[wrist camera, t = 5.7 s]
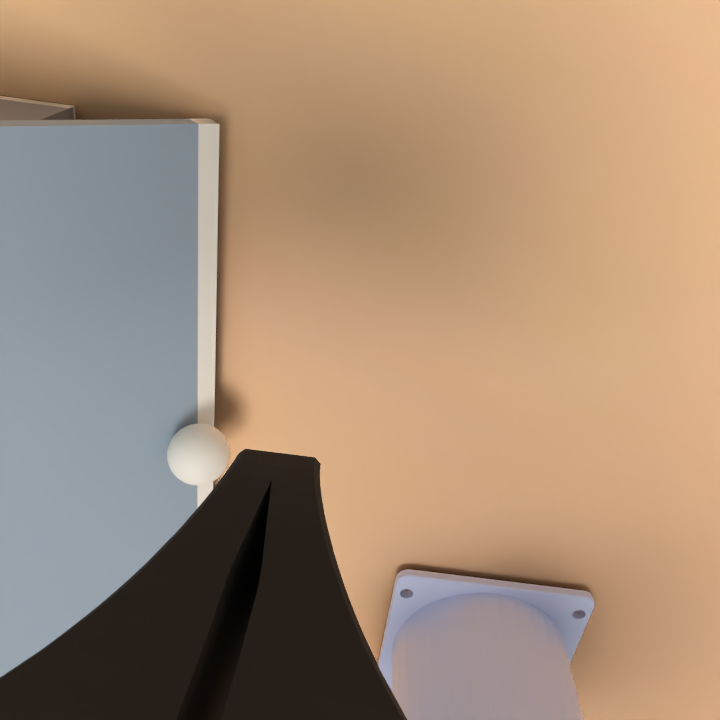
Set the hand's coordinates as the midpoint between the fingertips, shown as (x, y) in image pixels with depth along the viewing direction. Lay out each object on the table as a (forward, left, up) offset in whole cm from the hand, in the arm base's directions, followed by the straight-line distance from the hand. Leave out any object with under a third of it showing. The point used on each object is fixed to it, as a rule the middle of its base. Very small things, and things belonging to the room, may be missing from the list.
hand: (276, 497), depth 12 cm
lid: (-6, +9, -6) cm, 12 cm away
